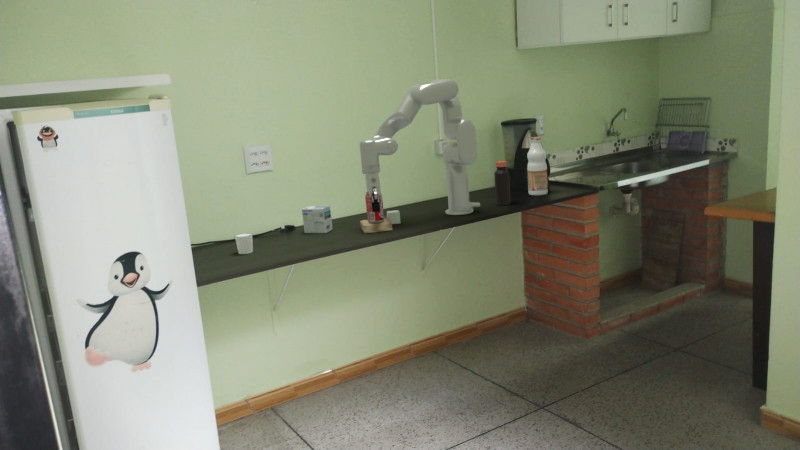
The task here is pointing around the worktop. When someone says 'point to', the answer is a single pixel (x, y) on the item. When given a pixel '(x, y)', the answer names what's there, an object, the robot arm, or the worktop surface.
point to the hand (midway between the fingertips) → (374, 209)
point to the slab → (376, 226)
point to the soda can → (374, 216)
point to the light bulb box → (317, 219)
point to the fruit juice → (537, 168)
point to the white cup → (244, 243)
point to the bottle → (502, 184)
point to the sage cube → (394, 216)
